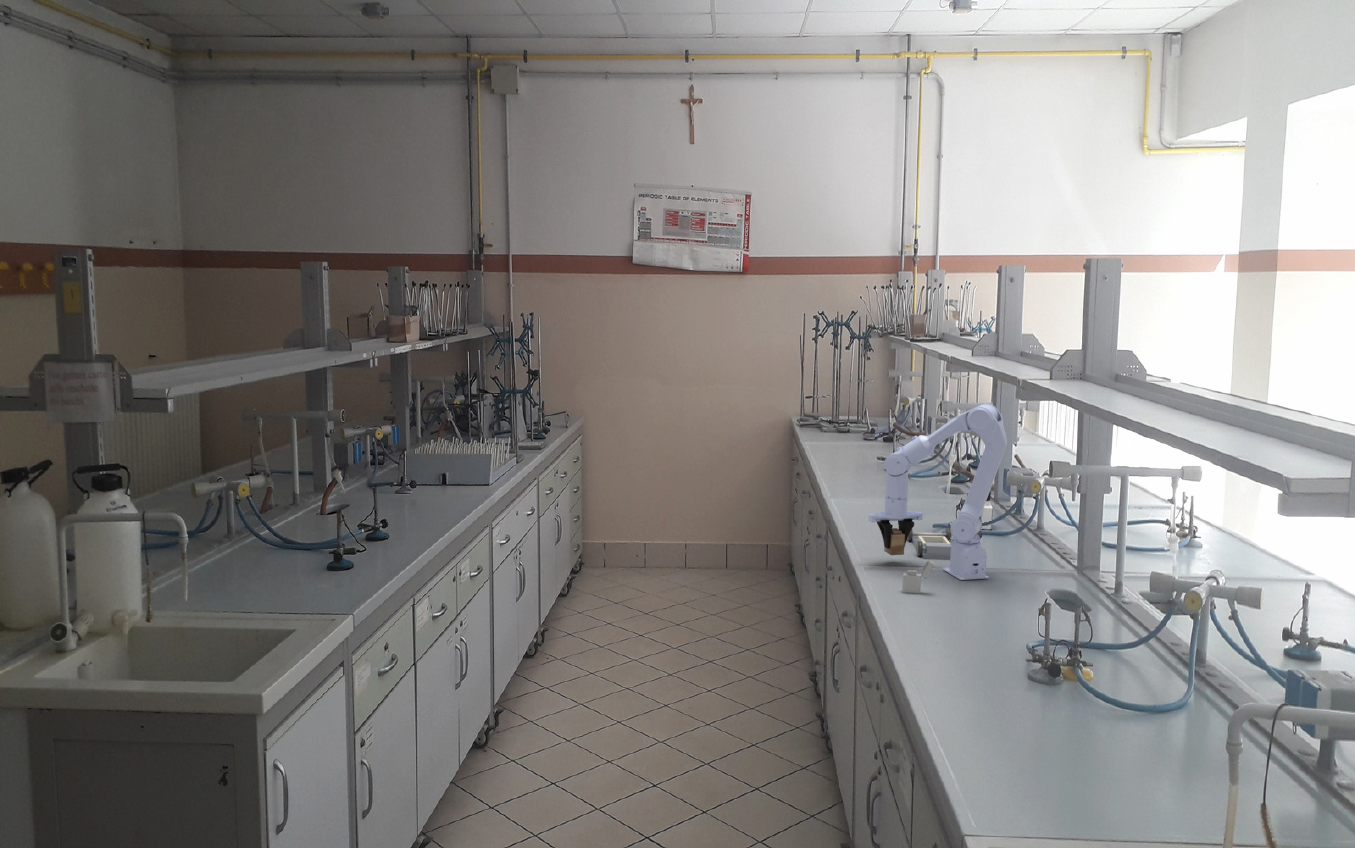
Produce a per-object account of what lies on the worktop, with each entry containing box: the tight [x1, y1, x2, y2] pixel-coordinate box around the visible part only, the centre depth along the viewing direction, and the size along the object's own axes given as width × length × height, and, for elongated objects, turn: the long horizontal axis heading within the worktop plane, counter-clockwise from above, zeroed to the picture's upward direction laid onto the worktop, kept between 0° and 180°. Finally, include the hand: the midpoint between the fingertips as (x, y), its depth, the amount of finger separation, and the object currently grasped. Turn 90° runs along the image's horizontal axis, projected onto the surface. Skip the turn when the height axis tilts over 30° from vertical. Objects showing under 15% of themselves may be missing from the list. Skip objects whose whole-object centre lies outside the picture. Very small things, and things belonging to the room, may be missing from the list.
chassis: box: [907, 527, 952, 560], centre depth 272 cm, size 22×12×4 cm, turn 176°
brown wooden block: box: [883, 527, 905, 556], centre depth 256 cm, size 4×4×6 cm
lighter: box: [901, 559, 935, 594], centre depth 232 cm, size 7×2×8 cm, turn 84°
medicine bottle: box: [982, 491, 994, 529], centre depth 298 cm, size 7×7×12 cm
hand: (894, 547), depth 257 cm, fingers closed on brown wooden block, 4 cm apart
